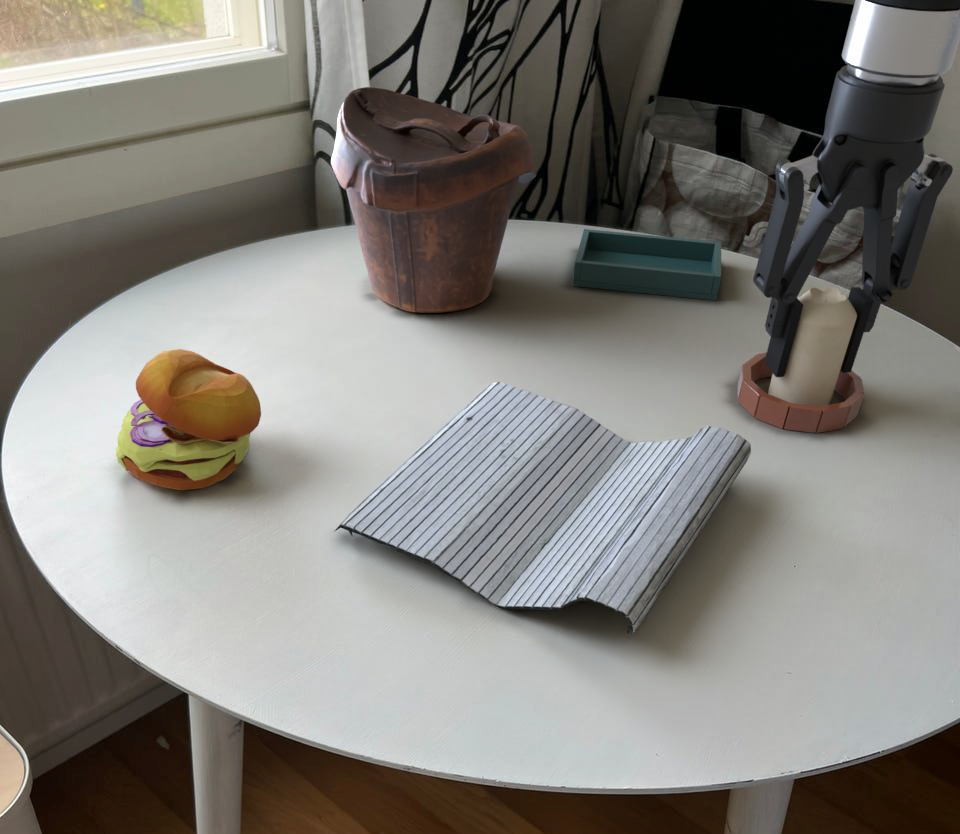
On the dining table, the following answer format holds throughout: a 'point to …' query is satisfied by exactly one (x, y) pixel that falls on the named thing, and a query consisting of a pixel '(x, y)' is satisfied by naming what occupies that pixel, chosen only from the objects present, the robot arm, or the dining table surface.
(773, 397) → the faceted band ring
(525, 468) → the mat
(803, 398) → the candle
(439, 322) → the dining table surface
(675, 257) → the tray
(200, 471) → the cheeseburger
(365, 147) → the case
